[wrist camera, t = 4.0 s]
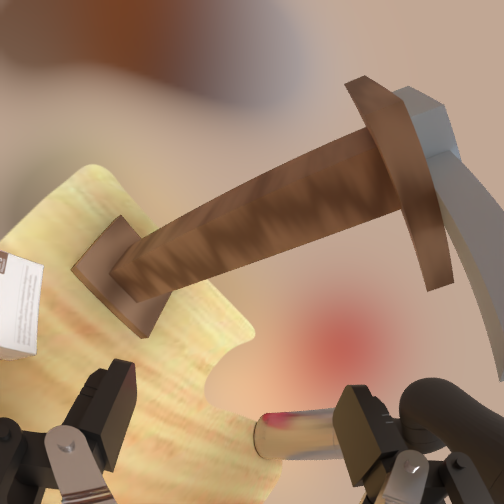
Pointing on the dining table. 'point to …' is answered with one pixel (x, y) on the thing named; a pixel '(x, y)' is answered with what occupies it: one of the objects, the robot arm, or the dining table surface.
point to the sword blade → (464, 213)
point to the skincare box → (19, 306)
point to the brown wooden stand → (279, 215)
